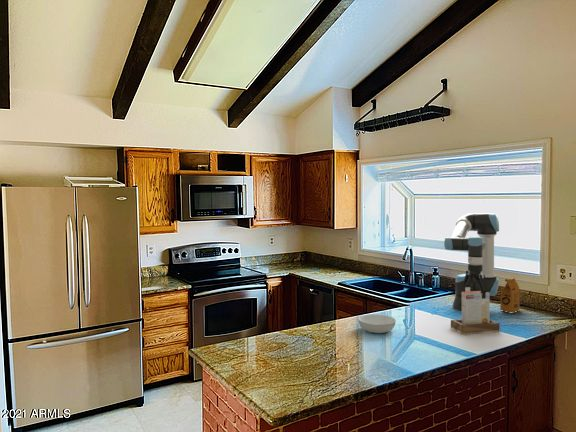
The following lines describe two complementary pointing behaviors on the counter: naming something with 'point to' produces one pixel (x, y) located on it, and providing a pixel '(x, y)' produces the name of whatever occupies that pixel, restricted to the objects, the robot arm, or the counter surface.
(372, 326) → the serving bowl
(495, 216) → the robot arm
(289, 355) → the counter surface
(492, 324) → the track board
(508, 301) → the coffee package
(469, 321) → the cracker box
